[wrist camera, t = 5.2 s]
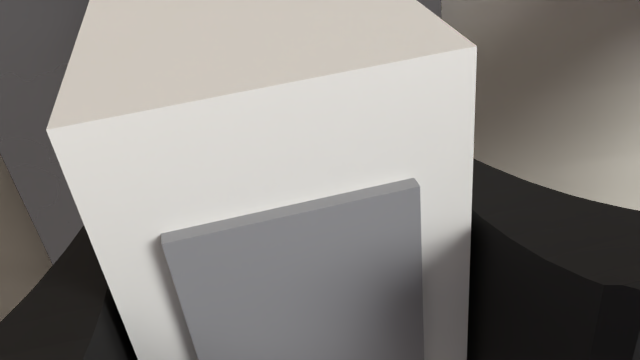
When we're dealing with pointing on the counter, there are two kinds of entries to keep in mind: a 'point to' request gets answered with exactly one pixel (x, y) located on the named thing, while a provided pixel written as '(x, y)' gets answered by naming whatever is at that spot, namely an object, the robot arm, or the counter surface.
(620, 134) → the counter surface
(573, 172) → the counter surface
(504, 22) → the counter surface
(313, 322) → the block
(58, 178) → the rail plate
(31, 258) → the counter surface
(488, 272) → the robot arm
